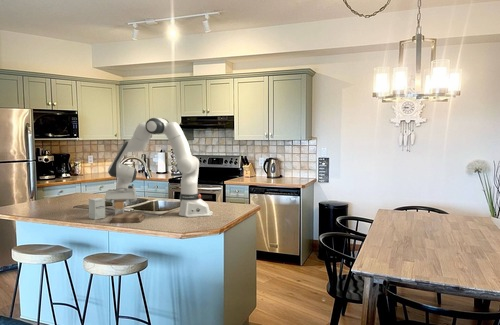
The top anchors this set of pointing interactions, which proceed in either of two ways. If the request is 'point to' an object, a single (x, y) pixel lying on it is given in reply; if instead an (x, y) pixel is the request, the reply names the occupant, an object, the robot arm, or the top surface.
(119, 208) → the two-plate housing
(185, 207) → the robot arm
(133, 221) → the walnut stand
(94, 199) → the supplement box
